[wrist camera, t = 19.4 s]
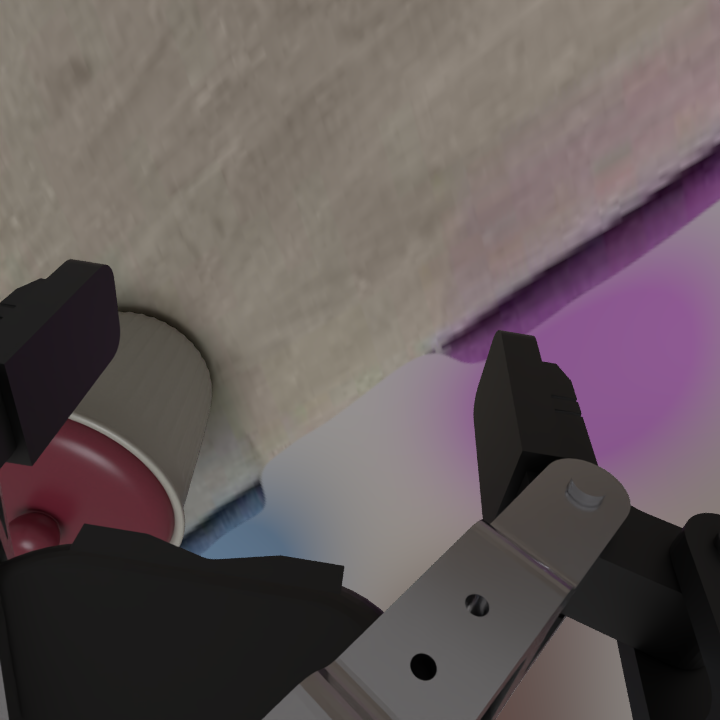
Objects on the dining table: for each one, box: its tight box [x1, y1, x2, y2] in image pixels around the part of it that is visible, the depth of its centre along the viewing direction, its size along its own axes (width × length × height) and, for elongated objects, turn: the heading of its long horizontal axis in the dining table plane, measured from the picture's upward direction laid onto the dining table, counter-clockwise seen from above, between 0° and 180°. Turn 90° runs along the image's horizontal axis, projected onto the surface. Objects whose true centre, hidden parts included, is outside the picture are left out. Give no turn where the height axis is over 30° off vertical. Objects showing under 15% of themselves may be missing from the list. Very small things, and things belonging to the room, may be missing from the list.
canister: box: [0, 311, 212, 557], centre depth 46 cm, size 18×18×21 cm
